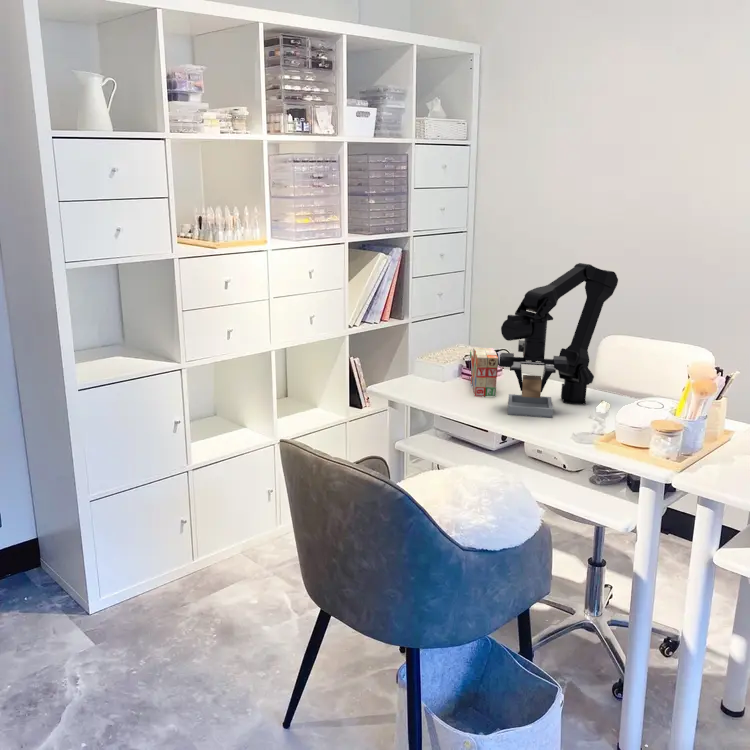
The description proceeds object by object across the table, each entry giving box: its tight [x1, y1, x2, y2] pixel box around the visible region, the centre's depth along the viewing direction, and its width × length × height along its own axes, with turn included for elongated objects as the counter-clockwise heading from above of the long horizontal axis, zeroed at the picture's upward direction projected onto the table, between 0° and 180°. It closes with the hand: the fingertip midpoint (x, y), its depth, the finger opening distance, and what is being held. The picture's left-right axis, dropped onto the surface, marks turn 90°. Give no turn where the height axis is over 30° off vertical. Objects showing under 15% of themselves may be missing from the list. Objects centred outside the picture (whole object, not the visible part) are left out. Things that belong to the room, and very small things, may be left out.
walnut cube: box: [521, 374, 542, 398], centre depth 216 cm, size 5×5×5 cm
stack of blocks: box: [469, 347, 499, 397], centre depth 238 cm, size 21×6×12 cm, turn 178°
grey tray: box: [507, 393, 554, 419], centre depth 217 cm, size 12×12×2 cm
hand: (531, 391), depth 216 cm, fingers closed on walnut cube, 5 cm apart
